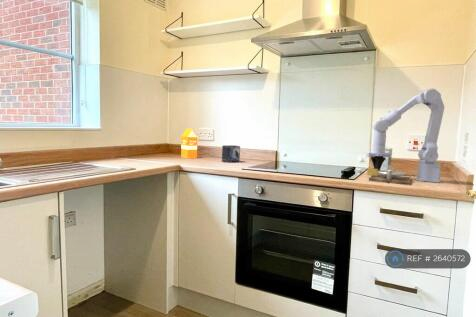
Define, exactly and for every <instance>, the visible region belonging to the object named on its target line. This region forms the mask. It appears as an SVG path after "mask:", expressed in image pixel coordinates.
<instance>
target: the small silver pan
mask: <svg viewBox="0 0 476 317" xmlns="http://www.w3.org/2000/svg"><path fill="white" fill-rule="evenodd" d="M388 171H392V176H402V177H405V175H406V172H404V171H397V170H396V169H391V168H390V169H387V170H378V169H375V168H374V167H368V168H367V173H366V175H367V176H370V177H371V176H377V174H378V173H379V174H381V175H387V172H388Z"/></svg>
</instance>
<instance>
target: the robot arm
mask: <svg viewBox="0 0 476 317" xmlns="http://www.w3.org/2000/svg"><path fill="white" fill-rule="evenodd" d="M418 104H423V105H425V106H427V108H429V109H430V115H429V120H428V124H427V129H426V134H425V138H424V142H423V144H422V145H421V149H420V150H419V151H418V154H417V155H418V158H419V160H418V168H417V177H416V178H415V180H416V181H419V182H430V183H440V179H441V163H437V160H438V159H439V154H438V149H439V147H438V145H437V143H438V139H439V134H440V131H441V130H440V129H441V124H442V121H443V116H444V112H445V103H444V102H443V99H442V94H441V93H440V91H438V90H437V89H436V88H428V89H426V90H425V89H424V90H423V91H421V92H420V93H417V94H416V95H414V96H413V97H411V98H409V100H407V101H406V102H405V103H404V104H403V105H402V106H400V107H398V109H392V110H389V111H387V112H388V113H386V114H385V115H384V116H383V117H380V118H379V119H380V120H379V119H378V120H376V121H375V122H374V124H373V126H372V128H373V130H374V132H373V140H372V142H373V143H372V151H371V152H365V158H370V160H371V162H372V166H373V168H375V169H378V170H380V168H381V166H382V164H383V162H384V161H385V158H384V157H390V154H391V153H385V147H386V142H387V141H386V140H387V131H388V130H389V127H392V125H394V124H396V123H397V122H398V121H399V120H401V119H402V115H403V114H405V113H406V112H407V111H409V110H410V109H411V108H413V107H414V106H416V105H418ZM378 155H381V156H378Z"/></svg>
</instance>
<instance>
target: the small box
mask: <svg viewBox="0 0 476 317" xmlns="http://www.w3.org/2000/svg"><path fill="white" fill-rule="evenodd" d="M221 147H222V150H221V152H222V153H221V162H223V163H240V159H241V158H240V156H241V146H240V145H232V144H231V145H222V146H221Z"/></svg>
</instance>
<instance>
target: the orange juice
mask: <svg viewBox="0 0 476 317" xmlns="http://www.w3.org/2000/svg"><path fill="white" fill-rule="evenodd" d="M180 146H181V150H180V157H181V158H184V159H198V135H197V134H196V132H195V131H194V129H193V128H185V129H184V132H183V133H182V134H181V145H180Z"/></svg>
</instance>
